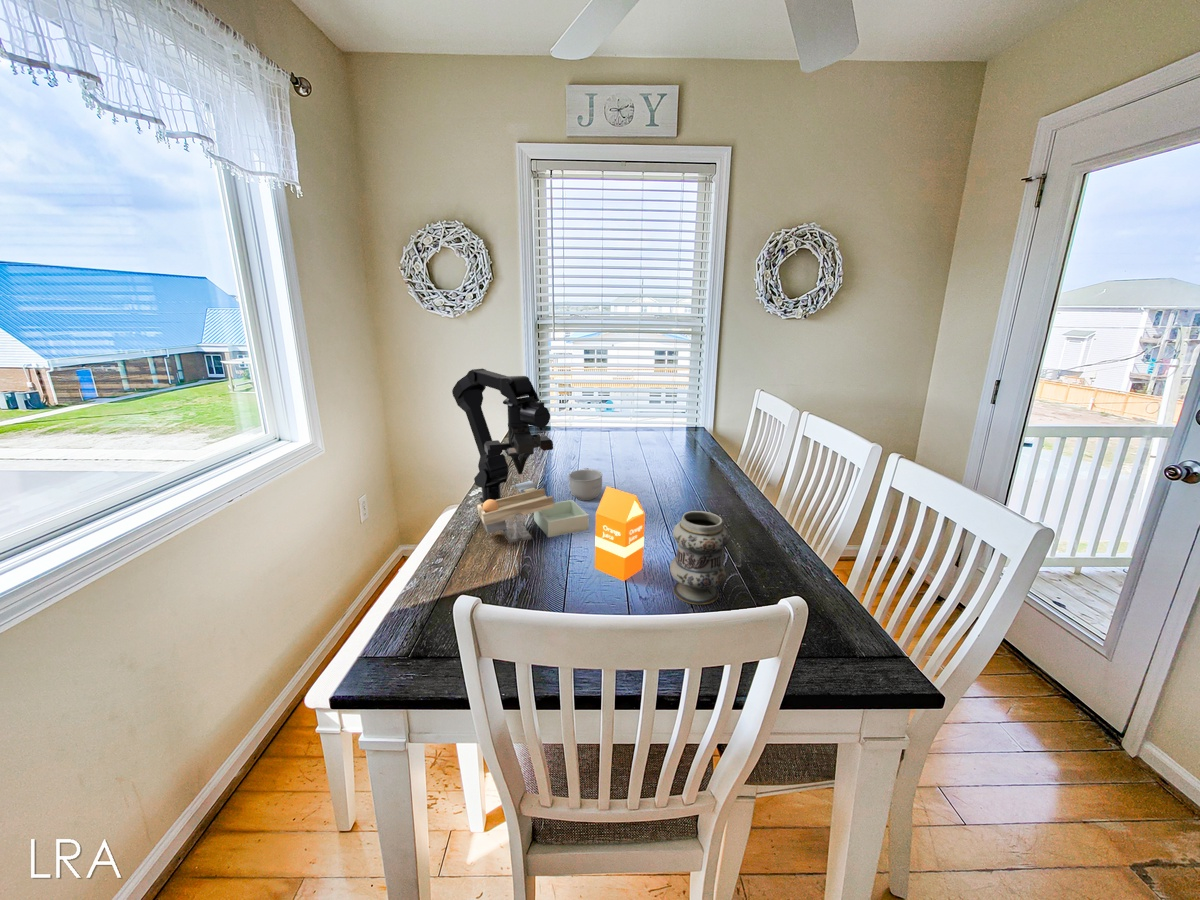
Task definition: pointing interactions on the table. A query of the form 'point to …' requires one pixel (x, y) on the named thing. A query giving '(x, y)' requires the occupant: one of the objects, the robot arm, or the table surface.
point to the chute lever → (515, 506)
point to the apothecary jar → (699, 557)
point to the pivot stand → (516, 530)
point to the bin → (562, 519)
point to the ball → (490, 505)
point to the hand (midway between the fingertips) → (519, 474)
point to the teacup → (585, 484)
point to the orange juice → (619, 534)
